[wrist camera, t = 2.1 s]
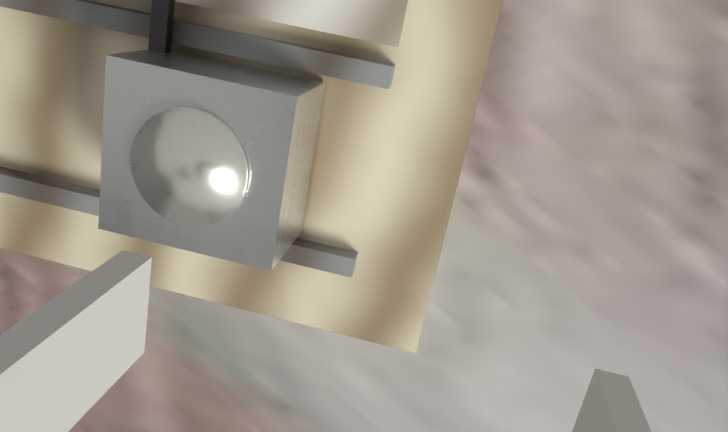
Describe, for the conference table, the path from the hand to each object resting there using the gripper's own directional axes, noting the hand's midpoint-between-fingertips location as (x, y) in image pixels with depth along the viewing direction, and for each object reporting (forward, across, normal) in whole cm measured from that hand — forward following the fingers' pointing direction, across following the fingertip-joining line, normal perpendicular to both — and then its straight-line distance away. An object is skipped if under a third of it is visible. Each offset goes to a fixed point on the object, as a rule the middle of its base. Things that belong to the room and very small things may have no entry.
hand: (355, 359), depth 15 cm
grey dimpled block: (+16, +9, -3) cm, 18 cm away
